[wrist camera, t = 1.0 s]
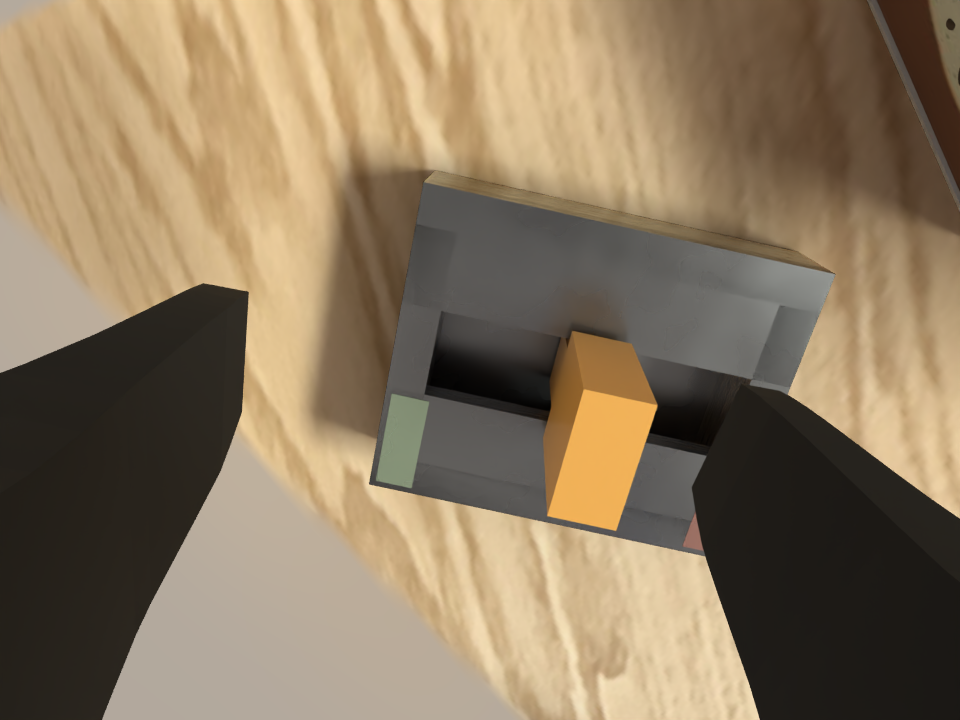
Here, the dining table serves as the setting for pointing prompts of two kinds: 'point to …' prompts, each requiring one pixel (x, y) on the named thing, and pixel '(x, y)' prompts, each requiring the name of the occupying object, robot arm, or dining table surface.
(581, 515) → the lever
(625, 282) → the switch box
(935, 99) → the food container
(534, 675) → the dining table surface
